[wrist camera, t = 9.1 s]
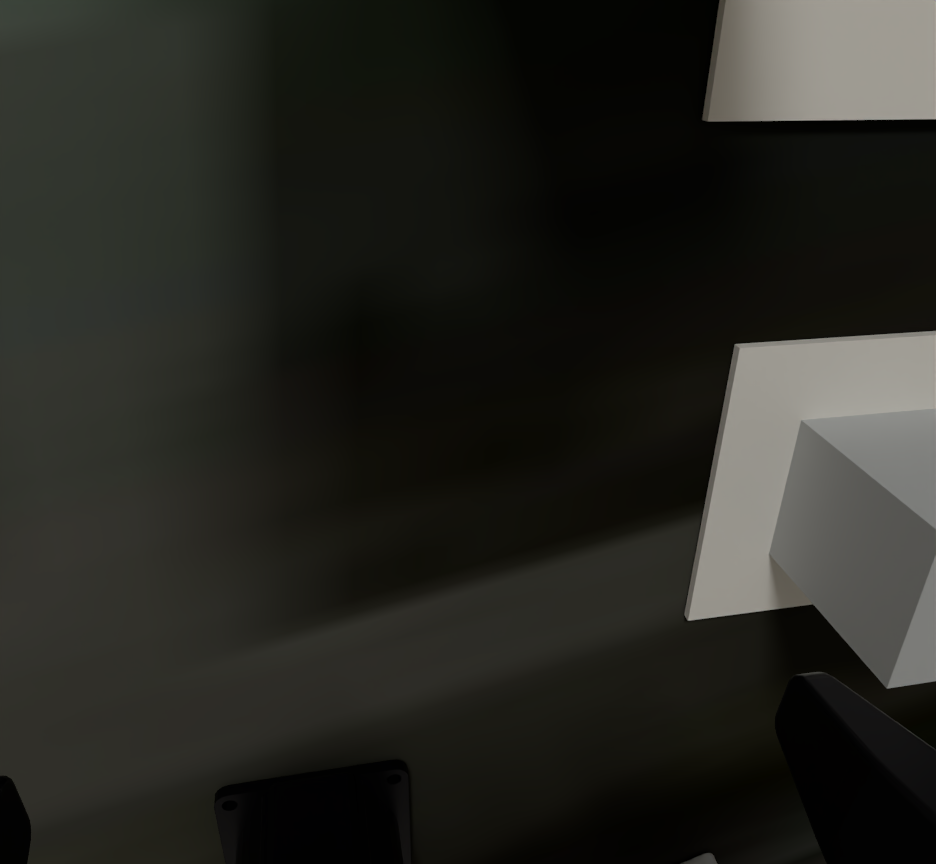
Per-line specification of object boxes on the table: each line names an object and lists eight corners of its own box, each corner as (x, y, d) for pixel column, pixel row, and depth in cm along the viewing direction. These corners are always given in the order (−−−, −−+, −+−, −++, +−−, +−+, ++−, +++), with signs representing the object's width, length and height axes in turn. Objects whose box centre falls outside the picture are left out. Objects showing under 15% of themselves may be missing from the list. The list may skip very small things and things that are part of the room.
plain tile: (937, 581, 29) (943, 586, 29) (684, 614, 27) (688, 620, 27) (1033, 324, 24) (1041, 328, 24) (734, 343, 23) (739, 348, 22)
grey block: (901, 538, 27) (1045, 663, 22) (769, 553, 26) (886, 688, 21) (945, 407, 25) (1118, 514, 20) (801, 420, 24) (943, 535, 19)
